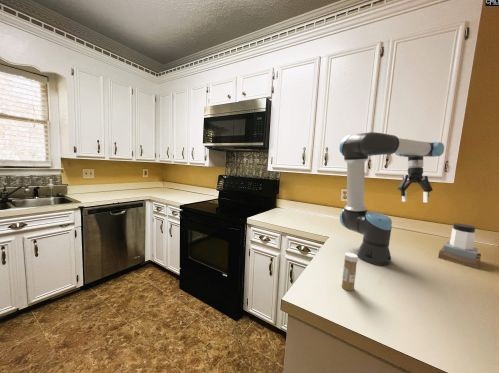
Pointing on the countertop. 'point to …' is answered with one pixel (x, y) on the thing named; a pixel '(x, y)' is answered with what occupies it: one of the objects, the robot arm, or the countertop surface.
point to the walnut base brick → (460, 259)
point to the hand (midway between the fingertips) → (414, 202)
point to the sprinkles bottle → (349, 271)
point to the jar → (463, 236)
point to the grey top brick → (460, 251)
